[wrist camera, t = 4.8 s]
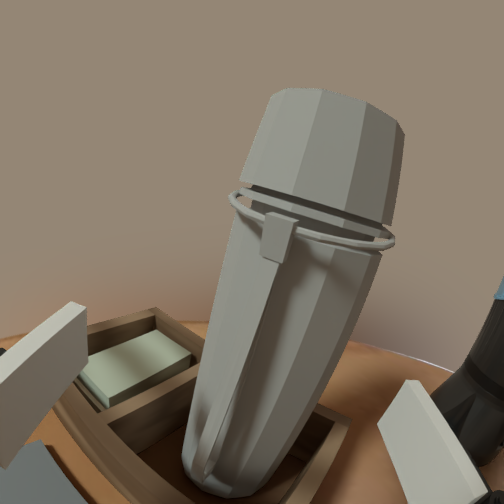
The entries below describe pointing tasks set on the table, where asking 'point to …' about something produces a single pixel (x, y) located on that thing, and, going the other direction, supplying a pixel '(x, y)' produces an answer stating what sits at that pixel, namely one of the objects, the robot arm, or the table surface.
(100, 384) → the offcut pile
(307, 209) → the water bottle
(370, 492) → the table surface
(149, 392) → the walnut divided tray
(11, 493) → the slate mat
